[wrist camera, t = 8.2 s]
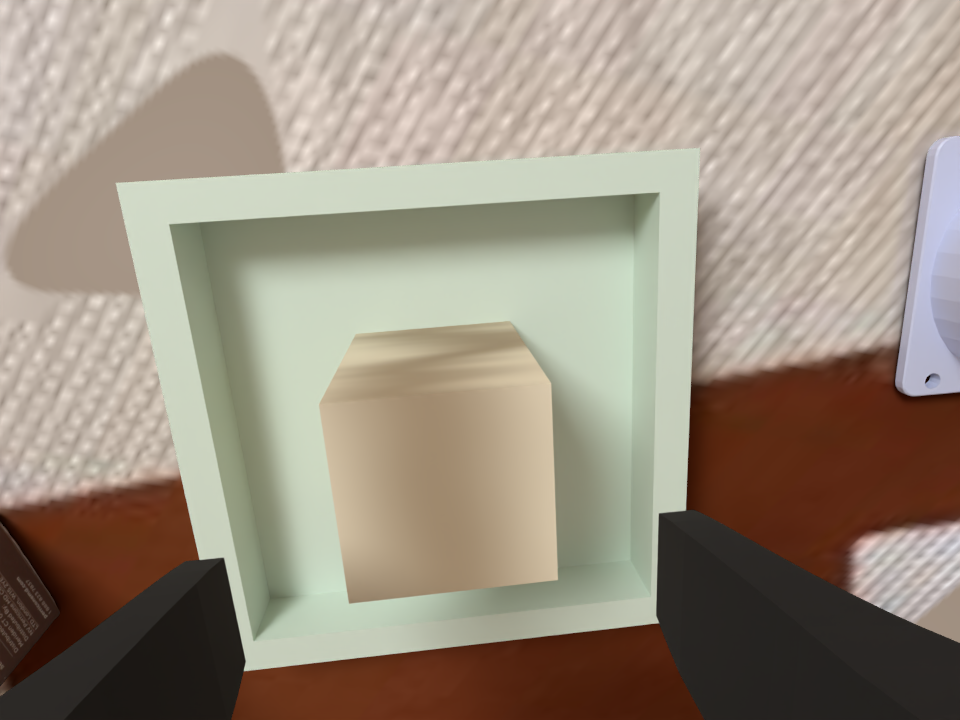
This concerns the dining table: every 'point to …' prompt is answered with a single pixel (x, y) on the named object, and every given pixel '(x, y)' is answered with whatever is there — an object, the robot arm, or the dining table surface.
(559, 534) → the tray
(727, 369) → the dining table surface
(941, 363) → the robot arm
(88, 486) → the dining table surface
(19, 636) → the box
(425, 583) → the birch block
